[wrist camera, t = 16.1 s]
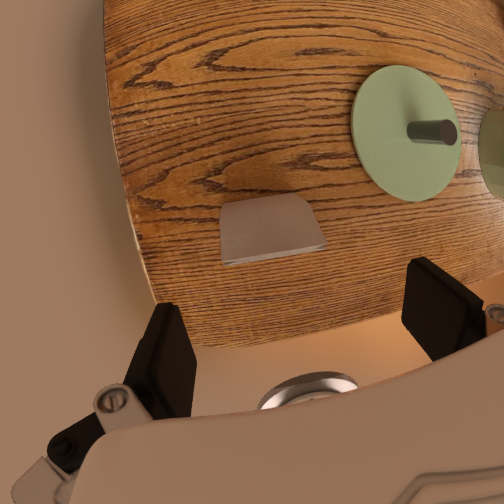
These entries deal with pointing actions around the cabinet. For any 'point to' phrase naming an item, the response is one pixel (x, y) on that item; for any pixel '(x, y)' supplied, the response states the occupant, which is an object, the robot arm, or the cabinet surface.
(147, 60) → the cabinet surface
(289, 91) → the cabinet surface
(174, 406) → the robot arm
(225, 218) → the tea bag
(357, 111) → the lid
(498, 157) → the pot
